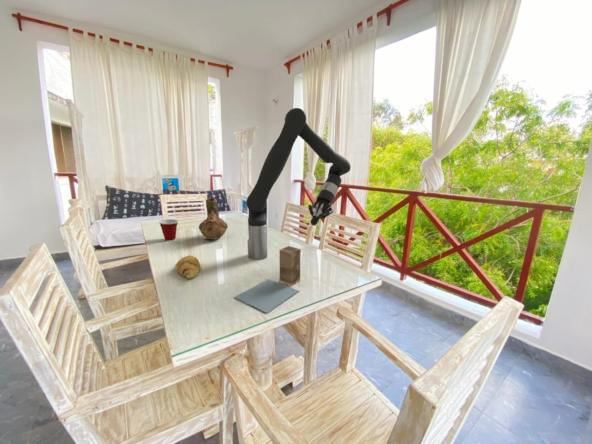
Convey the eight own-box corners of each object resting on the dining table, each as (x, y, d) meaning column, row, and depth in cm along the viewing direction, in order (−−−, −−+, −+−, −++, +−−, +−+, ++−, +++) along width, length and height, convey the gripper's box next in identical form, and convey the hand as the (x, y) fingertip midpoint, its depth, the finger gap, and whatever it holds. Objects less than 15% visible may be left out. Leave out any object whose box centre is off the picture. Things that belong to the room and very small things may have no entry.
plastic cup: (175, 242, 153) (173, 222, 150) (157, 242, 153) (154, 222, 150) (183, 236, 163) (181, 218, 160) (166, 236, 163) (164, 218, 160)
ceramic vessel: (198, 246, 145) (194, 203, 139) (201, 234, 170) (197, 196, 163) (229, 244, 150) (226, 202, 144) (227, 232, 174) (225, 195, 168)
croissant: (199, 286, 108) (207, 269, 108) (175, 281, 103) (183, 263, 102) (192, 267, 126) (199, 252, 126) (171, 261, 120) (178, 246, 120)
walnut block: (291, 286, 101) (291, 253, 98) (279, 282, 105) (279, 249, 102) (300, 280, 106) (300, 249, 103) (288, 276, 110) (288, 246, 106)
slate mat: (266, 313, 83) (266, 312, 83) (234, 298, 93) (234, 297, 93) (299, 291, 97) (299, 290, 97) (268, 279, 107) (268, 278, 107)
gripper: (312, 188, 121) (297, 217, 114) (337, 190, 113) (322, 222, 107) (318, 197, 126) (303, 226, 120) (342, 200, 119) (328, 231, 112)
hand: (312, 224), depth 113 cm, fingers closed
